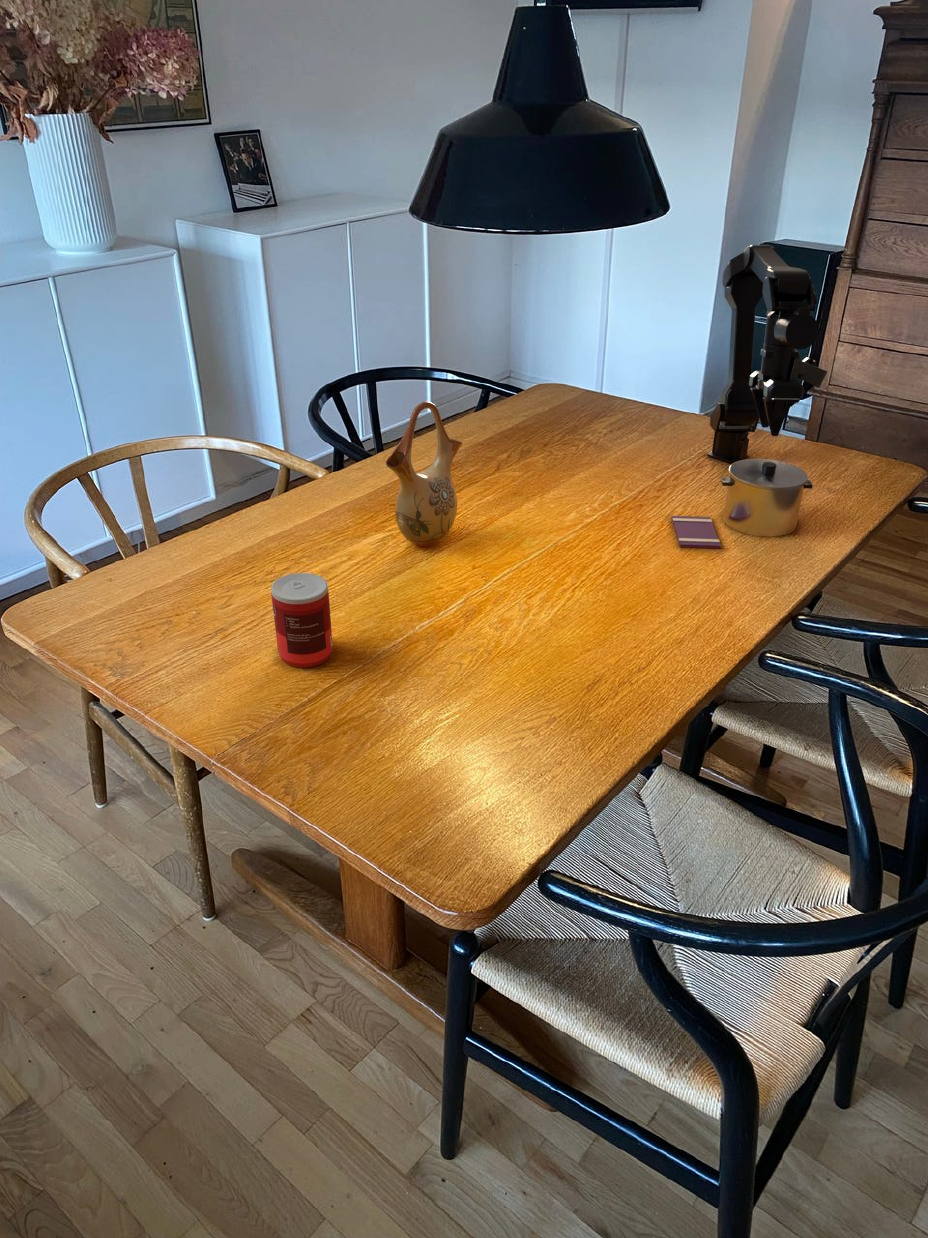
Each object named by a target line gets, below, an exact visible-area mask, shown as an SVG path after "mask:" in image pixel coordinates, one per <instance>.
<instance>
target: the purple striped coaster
mask: <svg viewBox="0 0 928 1238" xmlns="http://www.w3.org/2000/svg"><path fill="white" fill-rule="evenodd" d="M671 521H672V525H673V528H674V532H675V535H676V539H677V541H678V542H677V543H678V546H679V548H688V549H718V550H719V549H722V544H721V541H720V539H719V537H718V534H717V531H716V529H715V527H714V524H713V520H712V519H711V517H710V516H691V515H688V516H687V515H671Z"/></svg>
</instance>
